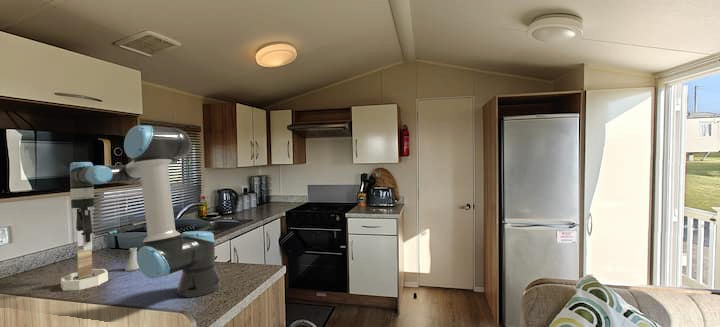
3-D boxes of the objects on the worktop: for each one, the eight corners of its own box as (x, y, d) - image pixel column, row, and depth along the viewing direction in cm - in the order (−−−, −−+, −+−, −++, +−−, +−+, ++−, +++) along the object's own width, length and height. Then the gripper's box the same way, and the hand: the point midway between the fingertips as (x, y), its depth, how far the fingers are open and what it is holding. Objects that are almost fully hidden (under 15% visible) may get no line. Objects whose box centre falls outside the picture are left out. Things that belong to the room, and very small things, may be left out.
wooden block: (92, 280, 138) (91, 248, 138) (78, 284, 134) (77, 250, 134) (91, 279, 139) (90, 247, 139) (77, 282, 136) (76, 249, 136)
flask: (127, 272, 150) (127, 251, 150) (122, 269, 154) (121, 249, 154) (145, 268, 156) (144, 247, 156) (139, 265, 160) (139, 245, 160)
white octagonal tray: (110, 282, 138) (110, 273, 138) (64, 293, 127) (64, 283, 127) (102, 275, 147) (102, 266, 147) (59, 284, 136) (59, 275, 136)
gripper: (100, 198, 131) (102, 249, 131) (88, 196, 148) (90, 242, 148) (76, 200, 126) (78, 254, 126) (66, 198, 142) (68, 245, 142)
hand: (84, 247), depth 137 cm, fingers open, 13 cm apart
